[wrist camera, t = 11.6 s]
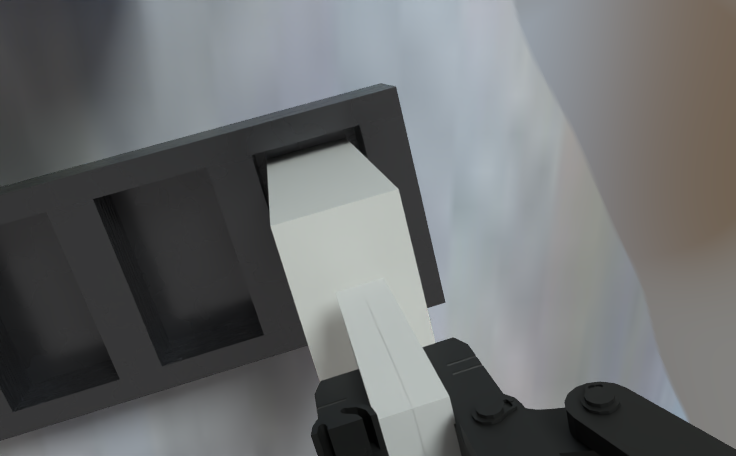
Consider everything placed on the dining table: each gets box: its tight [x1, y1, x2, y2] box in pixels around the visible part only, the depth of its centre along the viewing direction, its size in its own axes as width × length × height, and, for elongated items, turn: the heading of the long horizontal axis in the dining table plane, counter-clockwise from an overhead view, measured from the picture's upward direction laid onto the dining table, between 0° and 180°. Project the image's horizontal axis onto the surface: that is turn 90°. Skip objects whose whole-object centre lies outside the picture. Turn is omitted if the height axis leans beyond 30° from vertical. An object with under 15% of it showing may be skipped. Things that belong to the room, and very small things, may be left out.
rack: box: [0, 83, 445, 441], centre depth 29 cm, size 11×23×4 cm, turn 104°
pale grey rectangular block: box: [267, 138, 435, 382], centre depth 25 cm, size 7×4×12 cm, turn 14°
